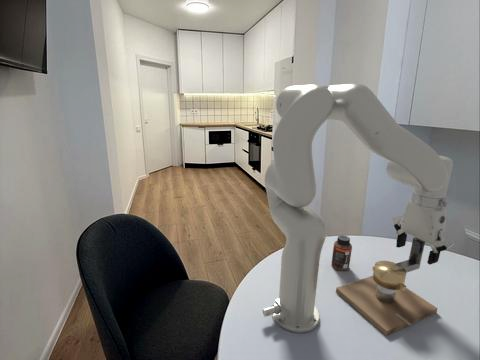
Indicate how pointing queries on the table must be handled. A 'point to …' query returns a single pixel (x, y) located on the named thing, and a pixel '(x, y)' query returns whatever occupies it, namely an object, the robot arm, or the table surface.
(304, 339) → the table surface
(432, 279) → the table surface
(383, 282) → the brass hub lever
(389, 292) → the steel post
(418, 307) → the walnut base
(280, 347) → the table surface
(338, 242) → the supplement bottle
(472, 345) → the table surface
